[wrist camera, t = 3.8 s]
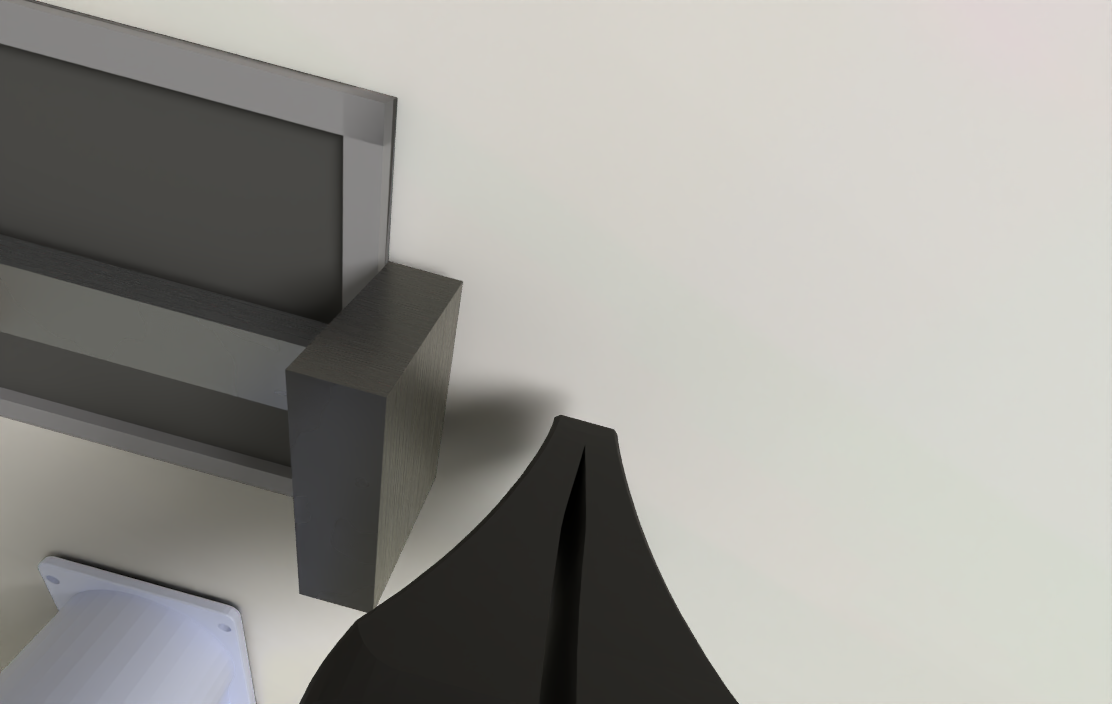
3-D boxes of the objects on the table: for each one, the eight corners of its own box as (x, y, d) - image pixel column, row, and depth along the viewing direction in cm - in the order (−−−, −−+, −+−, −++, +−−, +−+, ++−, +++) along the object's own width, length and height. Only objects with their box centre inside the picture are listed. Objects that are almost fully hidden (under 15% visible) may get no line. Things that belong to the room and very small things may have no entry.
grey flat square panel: (374, 502, 18) (366, 517, 17) (-25, 391, 18) (-45, 403, 18) (397, 97, 11) (384, 103, 11) (-240, -74, 11) (-281, -76, 11)
